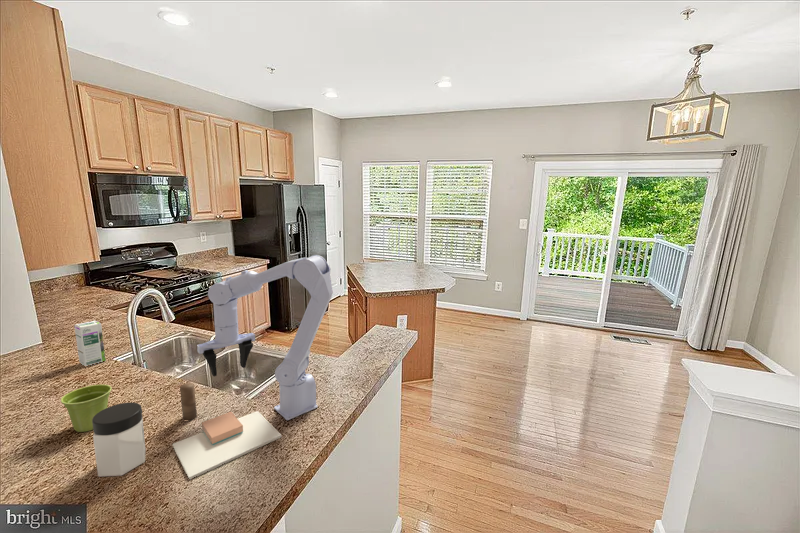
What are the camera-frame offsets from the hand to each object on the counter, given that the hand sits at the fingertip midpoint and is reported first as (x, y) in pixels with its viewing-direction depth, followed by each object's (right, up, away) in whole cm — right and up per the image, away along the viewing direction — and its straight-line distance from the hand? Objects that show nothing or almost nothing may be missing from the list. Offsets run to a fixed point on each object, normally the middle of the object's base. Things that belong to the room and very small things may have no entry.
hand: (228, 370), depth 96 cm
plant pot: (-31, -11, -9) cm, 34 cm away
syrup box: (-61, -5, +25) cm, 66 cm away
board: (+7, -13, -14) cm, 20 cm away
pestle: (-8, -11, -5) cm, 14 cm away
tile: (+1, -10, -8) cm, 13 cm away
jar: (-12, -14, -21) cm, 28 cm away
